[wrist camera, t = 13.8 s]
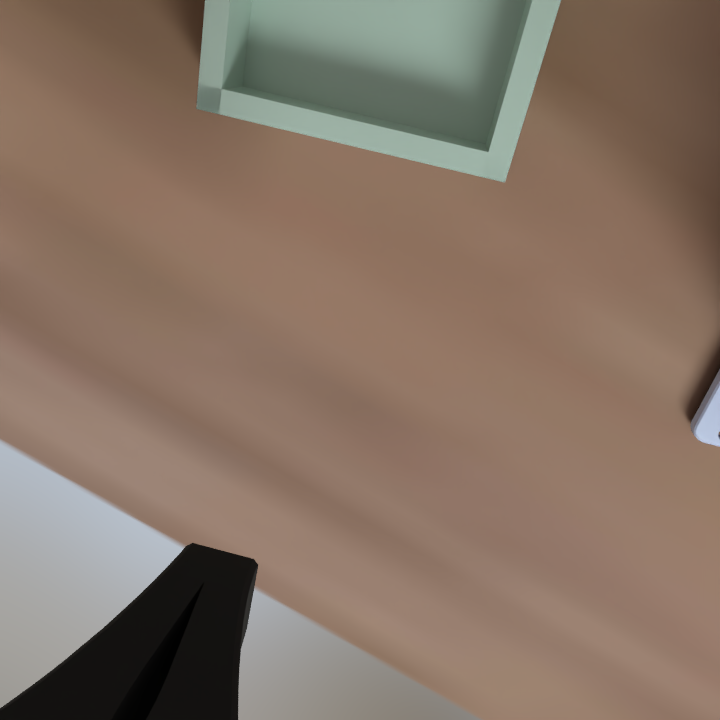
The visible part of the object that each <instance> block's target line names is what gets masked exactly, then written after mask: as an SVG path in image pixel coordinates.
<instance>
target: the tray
mask: <svg viewBox="0 0 720 720" xmlns="http://www.w3.org/2000/svg"><path fill="white" fill-rule="evenodd" d="M560 2H561V0H205V8H204V20H203V33H202V45H201V58H200V70H199V83H198V95H197V108H196V109H200V110H204V111H208V112H212V113H216V114H221V115H225V116H229V117H233V118H237V119H242V120H246V121H250V122H254V123H258V124H262V125H267V126H271V127H275V128H279V129H283V130H288V131H292V132H296V133H300V134H304V135H309V136H313V137H317V138H321V139H325V140H329V141H334V142H338V143H342V144H346V145H350V146H355V147H359V148H363V149H367V150H371V151H375V152H380V153H384V154H388V155H392V156H396V157H401V158H405V159H409V160H413V161H417V162H422V163H426V164H430V165H434V166H438V167H442V168H447V169H451V170H455V171H459V172H463V173H468V174H472V175H476V176H480V177H484V178H489V179H493V180H497V181H501V182H505V180H506V177H507V174H508V171H509V167H510V164H511V161H512V158H513V154H514V151H515V148H516V145H517V141H518V138H519V135H520V132H521V128H522V125H523V122H524V119H525V115H526V112H527V109H528V106H529V102H530V99H531V96H532V93H533V89H534V86H535V83H536V80H537V76H538V73H539V70H540V67H541V63H542V60H543V57H544V54H545V50H546V47H547V44H548V41H549V37H550V34H551V31H552V28H553V24H554V21H555V18H556V15H557V11H558V8H559V5H560Z"/></svg>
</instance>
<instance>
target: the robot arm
mask: <svg viewBox="0 0 720 720" xmlns="http://www.w3.org/2000/svg"><path fill="white" fill-rule="evenodd" d="M691 431H692V432H693V434H694V436H695V437H696V438H697V439H698V440H699V441H701V442H704V443H707V444H711V445H715V446H719V447H720V435H718V434H719V432H720V369H719V371H718V373H717V375H716V377H715V379H714V381H713V382H712V384H711V386H710V388H709V390H708V392H707V394H706V395H705V397H704V399H703V401H702V403H701V405H700V407H699V408H698V410H697V412H696V414H695V416H694V418H693V420H692V422H691ZM257 569H258V564H257V563H256V562H255V560H254V559H251V558H248V557H244V556H240V555H236V554H232V553H229V552H225V551H221V550H217V549H213V548H210V547H206V546H202V545H198V544H194V543H192V544H190V545H187V546H186V547H185V548H184V549H183V550H182V552H181V553H180V554H179V555H178V556H177V557H176V558H175V559H174V561H172V563H171V564H170V565H169V566H168V567H167V568H166V569H165V570H164V571H163V572H162V573H161V574H160V575H159V576H158V577H157V578H156V579H155V580H154V581H153V582H152V583H151V584H150V585H149V586H148V587H147V588H146V589H145V590H144V591H143V592H142V593H141V594H140V595H139V596H138V597H137V598H136V599H135V600H133V601H132V602H131V603H130V604H129V605H128V606H127V607H126V608H125V609H124V610H123V611H121V612H120V613H119V614H118V615H117V616H116V617H115V618H114V619H113V620H112V621H111V622H110V623H109V624H107V625H106V626H105V627H104V628H103V629H102V630H100V631H99V632H98V633H97V634H96V635H94V636H93V637H92V638H91V639H90V640H89V641H87V642H86V643H85V644H84V645H82V646H81V647H80V648H79V649H78V650H76V651H75V652H74V653H73V654H72V655H70V656H69V657H68V658H67V659H66V660H64V661H63V662H62V663H61V664H59V665H58V666H57V667H56V668H54V669H53V670H52V671H50V672H49V673H48V674H47V675H45V676H44V677H43V678H41V679H40V680H39V681H37V682H36V683H35V684H33V685H32V686H31V687H29V688H28V689H26V690H25V691H24V692H22V693H21V694H20V695H18V696H17V697H16V698H14V699H13V700H11V701H10V702H9V703H7V704H6V705H4V706H3V707H1V708H0V720H238V685H239V664H240V652H241V646H242V643H243V639H244V636H245V632H246V629H247V624H248V619H249V613H250V608H251V602H252V596H253V591H254V585H255V580H256V574H257Z"/></svg>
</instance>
